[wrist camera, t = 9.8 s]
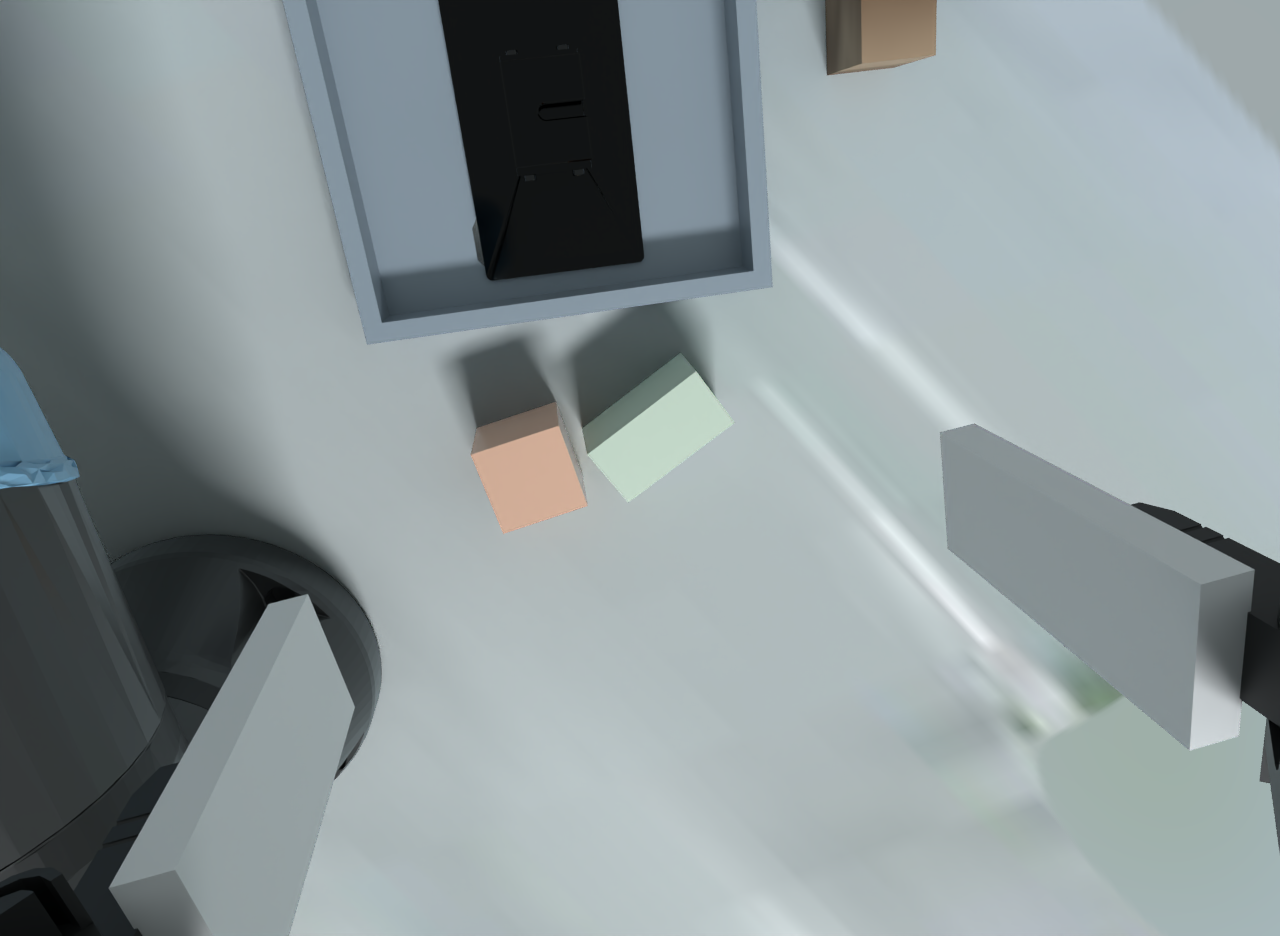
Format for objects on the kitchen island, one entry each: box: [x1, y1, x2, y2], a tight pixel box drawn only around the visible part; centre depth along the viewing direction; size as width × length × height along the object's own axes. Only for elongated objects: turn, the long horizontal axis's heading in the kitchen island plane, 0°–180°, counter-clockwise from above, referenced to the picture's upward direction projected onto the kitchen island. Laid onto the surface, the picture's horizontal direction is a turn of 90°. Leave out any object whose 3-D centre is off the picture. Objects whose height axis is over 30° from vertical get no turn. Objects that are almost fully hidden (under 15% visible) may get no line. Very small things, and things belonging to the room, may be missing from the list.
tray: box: [282, 0, 773, 344], centre depth 32 cm, size 18×19×2 cm
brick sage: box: [582, 353, 734, 503], centre depth 37 cm, size 6×3×4 cm, turn 127°
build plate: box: [438, 0, 644, 281], centre depth 31 cm, size 12×7×5 cm, turn 7°
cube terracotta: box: [471, 402, 588, 534], centre depth 37 cm, size 4×4×4 cm
